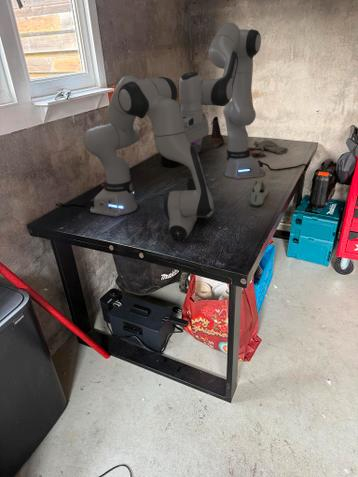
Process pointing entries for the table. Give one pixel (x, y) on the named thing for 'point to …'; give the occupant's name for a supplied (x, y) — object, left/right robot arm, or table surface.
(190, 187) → the black cylinder
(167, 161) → the handbag
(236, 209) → the table surface
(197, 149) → the lid
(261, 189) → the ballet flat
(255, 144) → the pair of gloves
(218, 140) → the boot
